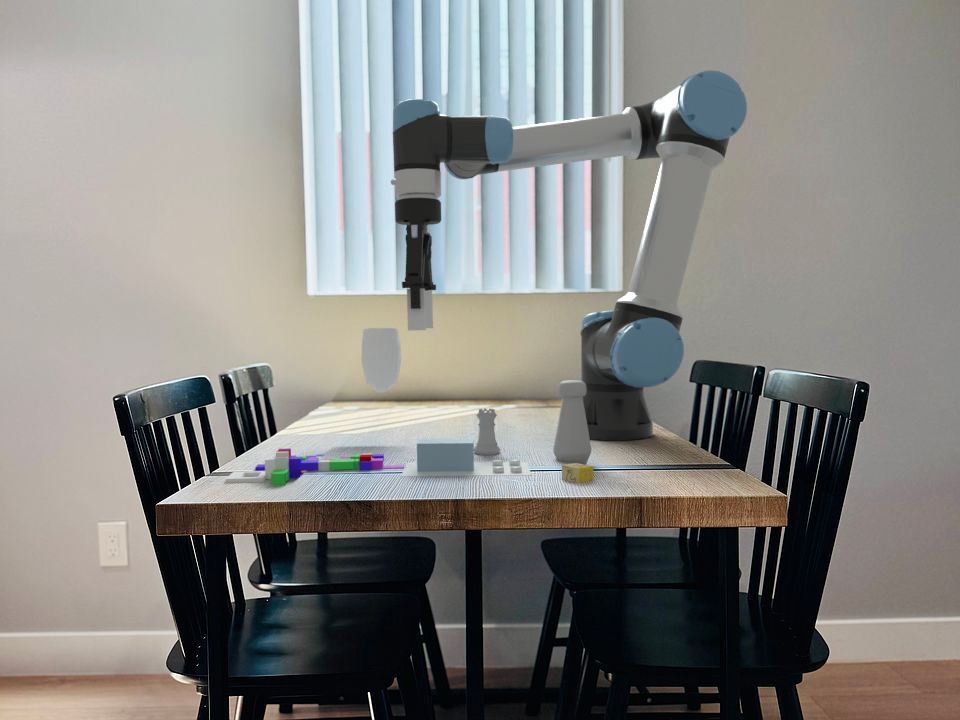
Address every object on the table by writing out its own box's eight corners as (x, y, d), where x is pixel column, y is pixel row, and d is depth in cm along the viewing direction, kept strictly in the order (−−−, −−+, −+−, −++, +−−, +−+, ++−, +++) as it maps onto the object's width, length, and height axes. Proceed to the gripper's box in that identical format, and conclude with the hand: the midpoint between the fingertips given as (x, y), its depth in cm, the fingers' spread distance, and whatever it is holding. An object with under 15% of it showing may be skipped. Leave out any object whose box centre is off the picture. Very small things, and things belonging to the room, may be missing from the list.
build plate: (527, 468, 121) (527, 457, 121) (531, 482, 111) (531, 470, 111) (407, 469, 121) (407, 458, 121) (401, 483, 111) (400, 471, 111)
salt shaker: (578, 470, 119) (578, 382, 118) (546, 466, 122) (545, 381, 121) (598, 464, 123) (598, 380, 122) (566, 460, 127) (565, 378, 126)
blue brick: (473, 465, 118) (473, 438, 117) (473, 471, 114) (473, 443, 113) (419, 466, 118) (419, 439, 117) (417, 471, 114) (416, 443, 113)
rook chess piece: (501, 461, 126) (500, 410, 126) (472, 461, 126) (472, 411, 126) (500, 456, 131) (500, 407, 130) (473, 456, 131) (473, 407, 130)
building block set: (404, 459, 132) (403, 432, 132) (405, 485, 112) (405, 453, 112) (248, 463, 130) (248, 435, 129) (221, 491, 109) (220, 458, 109)
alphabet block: (576, 484, 110) (576, 462, 110) (593, 487, 107) (593, 465, 107) (561, 487, 108) (561, 464, 108) (578, 491, 105) (578, 468, 105)
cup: (366, 438, 150) (364, 327, 149) (404, 438, 150) (403, 327, 149) (359, 444, 143) (357, 328, 142) (399, 444, 143) (397, 328, 142)
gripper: (404, 209, 143) (407, 327, 145) (383, 188, 118) (387, 331, 120) (446, 208, 143) (448, 327, 144) (434, 186, 118) (437, 330, 120)
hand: (421, 329), depth 132 cm, fingers open, 13 cm apart
